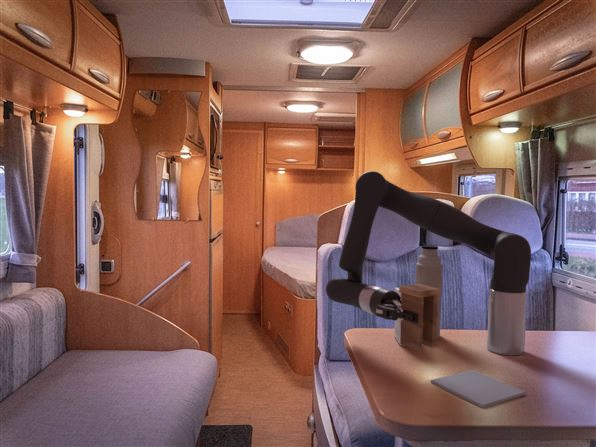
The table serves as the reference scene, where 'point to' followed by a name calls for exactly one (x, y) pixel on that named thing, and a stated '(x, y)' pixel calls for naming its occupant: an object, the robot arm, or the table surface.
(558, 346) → the table surface
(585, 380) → the table surface
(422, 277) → the thermos bottle
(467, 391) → the mat
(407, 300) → the stool
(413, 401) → the table surface
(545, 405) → the table surface
